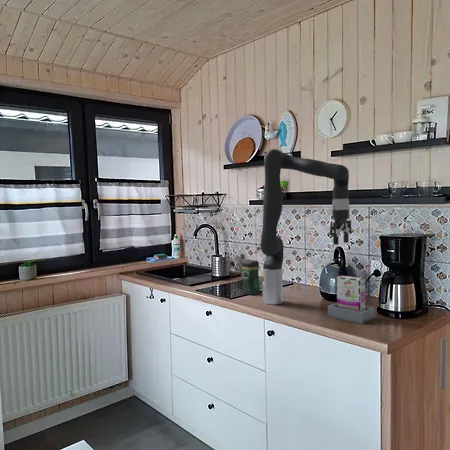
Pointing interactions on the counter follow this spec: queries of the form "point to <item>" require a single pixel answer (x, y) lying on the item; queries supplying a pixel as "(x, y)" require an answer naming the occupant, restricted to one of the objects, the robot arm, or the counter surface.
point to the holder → (351, 314)
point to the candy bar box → (351, 293)
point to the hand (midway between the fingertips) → (341, 243)
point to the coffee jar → (250, 277)
